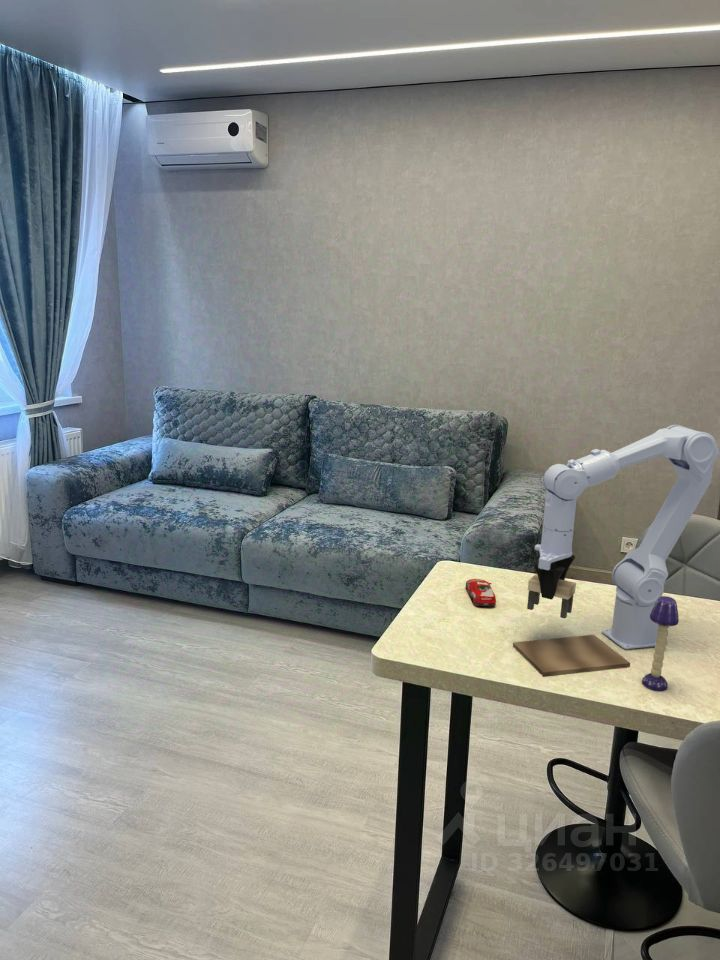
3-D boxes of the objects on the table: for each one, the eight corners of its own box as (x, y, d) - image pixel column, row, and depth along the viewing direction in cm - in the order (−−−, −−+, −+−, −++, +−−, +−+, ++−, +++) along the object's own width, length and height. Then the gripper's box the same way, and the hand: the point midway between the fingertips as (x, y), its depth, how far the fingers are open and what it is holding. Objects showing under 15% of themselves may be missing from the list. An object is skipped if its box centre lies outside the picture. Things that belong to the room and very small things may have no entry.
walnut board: (593, 638, 143) (593, 634, 143) (629, 666, 132) (630, 662, 132) (512, 646, 139) (513, 642, 138) (543, 676, 127) (543, 672, 127)
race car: (463, 586, 169) (464, 571, 168) (486, 587, 169) (487, 571, 168) (472, 609, 156) (474, 592, 155) (497, 610, 156) (498, 593, 155)
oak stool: (533, 601, 143) (536, 573, 142) (572, 611, 139) (576, 582, 138) (525, 608, 139) (528, 580, 138) (566, 619, 135) (569, 589, 134)
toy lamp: (673, 692, 123) (687, 604, 119) (647, 693, 123) (660, 604, 119) (660, 678, 128) (672, 593, 124) (635, 679, 128) (647, 593, 124)
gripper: (548, 515, 143) (542, 577, 146) (525, 532, 131) (519, 600, 134) (584, 521, 140) (576, 585, 143) (563, 540, 128) (555, 609, 131)
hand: (551, 593), depth 138 cm, fingers closed on oak stool, 4 cm apart
